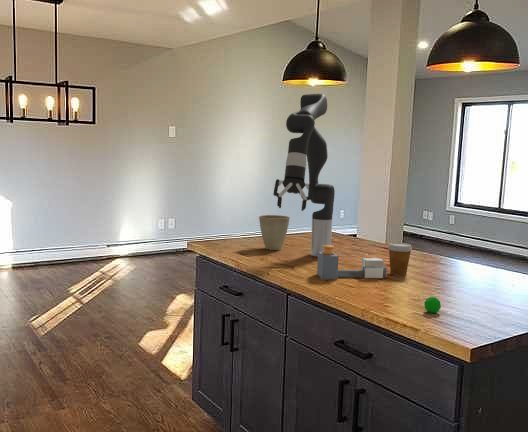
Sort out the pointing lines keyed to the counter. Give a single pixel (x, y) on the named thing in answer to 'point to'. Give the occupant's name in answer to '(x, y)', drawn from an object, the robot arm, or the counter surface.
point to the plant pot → (273, 230)
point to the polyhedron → (432, 305)
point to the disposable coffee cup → (399, 258)
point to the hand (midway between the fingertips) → (291, 209)
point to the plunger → (328, 249)
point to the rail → (356, 273)
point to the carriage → (373, 267)
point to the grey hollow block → (327, 266)
